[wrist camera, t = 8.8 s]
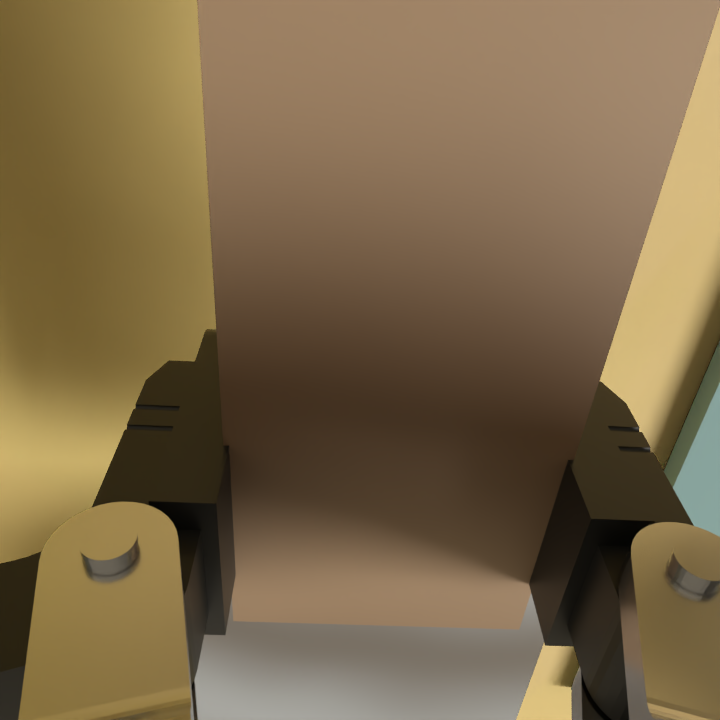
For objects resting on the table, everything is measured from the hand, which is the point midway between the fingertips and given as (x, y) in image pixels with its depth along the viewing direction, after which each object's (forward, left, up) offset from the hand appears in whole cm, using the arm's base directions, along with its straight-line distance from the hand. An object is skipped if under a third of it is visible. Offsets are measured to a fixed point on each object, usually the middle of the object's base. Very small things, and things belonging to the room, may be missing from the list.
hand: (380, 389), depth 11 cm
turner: (+2, 0, -1) cm, 2 cm away
